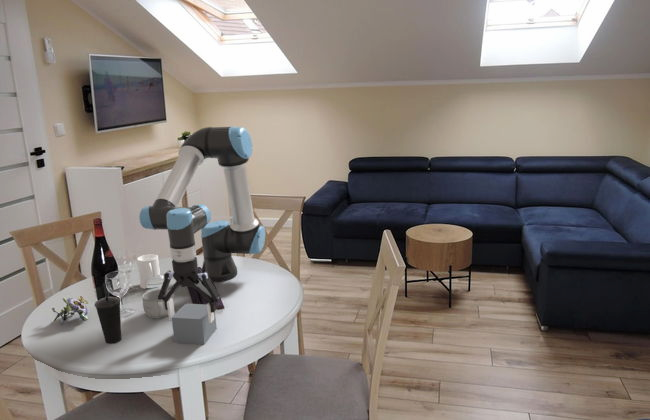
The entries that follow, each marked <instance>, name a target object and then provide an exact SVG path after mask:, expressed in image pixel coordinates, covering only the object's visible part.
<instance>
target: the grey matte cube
mask: <svg viewBox="0 0 650 420" xmlns="http://www.w3.org/2000/svg"><path fill="white" fill-rule="evenodd" d="M171 323H172V332H173V339H174V344H175V343H176V344H177V343H178V344H193V345H206V343H207V342H208V340H209V339H210V338H211V337H212V336H213V334H214V333H215V332H216V330H217V329H218V328H217V327H218V326H217V319H216V311H215V312H214V320H213V321H212V323H209V319H208V310H207V304H204V303H203V304H202V303H199V304H198V303H185V304H184V305H182V307H181V308H180V309H179V310H177V311H176V312H175V315H174V316H173V317H172V321H171Z"/></svg>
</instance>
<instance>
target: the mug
mask: <svg viewBox="0 0 650 420" xmlns="http://www.w3.org/2000/svg"><path fill="white" fill-rule="evenodd" d="M136 260H137V261H136V262H137V268H138V274H139V275H138V276H139V283H140V284H139V287H140V288H141V289H144V290H145V289H146V288H147V282H148V280H149V279H150V277H153V276H154V275H160V276H161V270H160V262H159V255H158V254H153V253H152V254H151V253H149V254H143V255H141V256H138V257H137V259H136Z"/></svg>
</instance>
